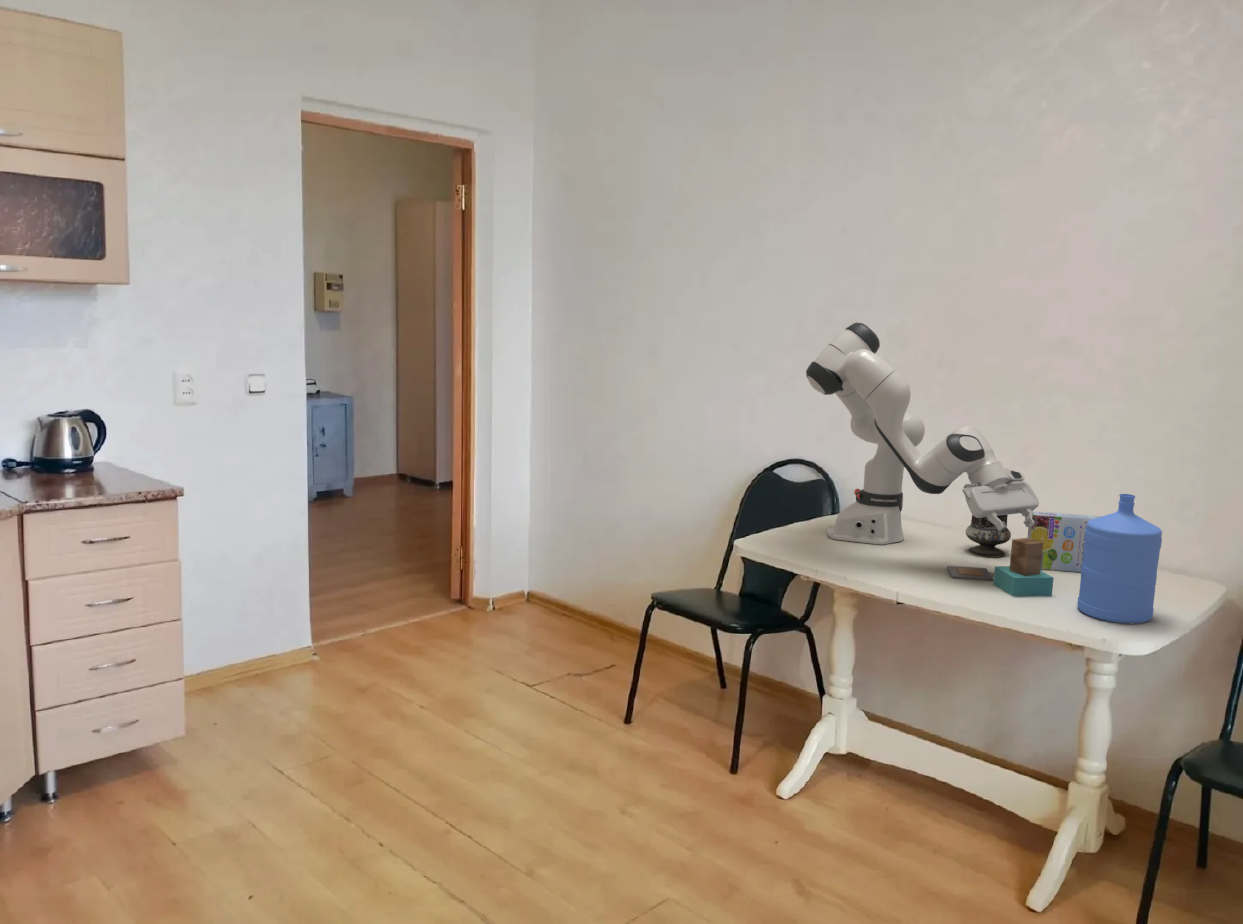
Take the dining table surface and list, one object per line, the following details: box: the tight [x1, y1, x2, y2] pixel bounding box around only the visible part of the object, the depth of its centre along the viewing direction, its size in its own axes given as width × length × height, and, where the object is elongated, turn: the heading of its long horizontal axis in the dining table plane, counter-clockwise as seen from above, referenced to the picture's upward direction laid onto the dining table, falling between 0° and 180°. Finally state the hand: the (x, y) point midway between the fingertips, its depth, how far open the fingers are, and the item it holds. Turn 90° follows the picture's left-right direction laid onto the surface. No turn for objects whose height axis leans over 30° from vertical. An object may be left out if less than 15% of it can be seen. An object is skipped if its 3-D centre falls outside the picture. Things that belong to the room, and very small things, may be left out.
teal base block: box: [992, 565, 1054, 597], centre depth 239 cm, size 10×10×5 cm
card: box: [947, 565, 994, 582], centre depth 252 cm, size 10×10×1 cm
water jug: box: [1076, 493, 1163, 624], centre depth 220 cm, size 16×16×28 cm
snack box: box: [1026, 510, 1103, 573], centre depth 257 cm, size 21×6×15 cm, turn 74°
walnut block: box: [1009, 537, 1043, 576], centre depth 237 cm, size 5×5×8 cm
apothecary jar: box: [965, 514, 1012, 558], centre depth 272 cm, size 12×12×18 cm
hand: (1017, 527), depth 241 cm, fingers open, 8 cm apart
